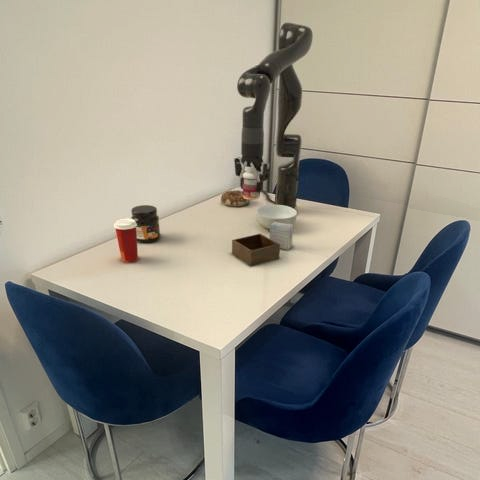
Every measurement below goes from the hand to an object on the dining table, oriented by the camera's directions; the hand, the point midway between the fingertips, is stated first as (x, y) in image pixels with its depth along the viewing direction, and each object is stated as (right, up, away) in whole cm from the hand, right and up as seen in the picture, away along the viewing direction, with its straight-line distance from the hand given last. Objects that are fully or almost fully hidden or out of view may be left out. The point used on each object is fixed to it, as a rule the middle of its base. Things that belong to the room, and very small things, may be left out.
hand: (251, 190), depth 163 cm
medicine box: (+11, -18, +12) cm, 25 cm away
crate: (+2, -23, +4) cm, 23 cm away
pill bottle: (0, -2, +2) cm, 3 cm away
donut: (-6, +10, +56) cm, 57 cm away
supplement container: (-41, -14, +17) cm, 46 cm away
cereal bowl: (+11, -7, +29) cm, 32 cm away
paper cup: (-43, -25, 0) cm, 50 cm away
